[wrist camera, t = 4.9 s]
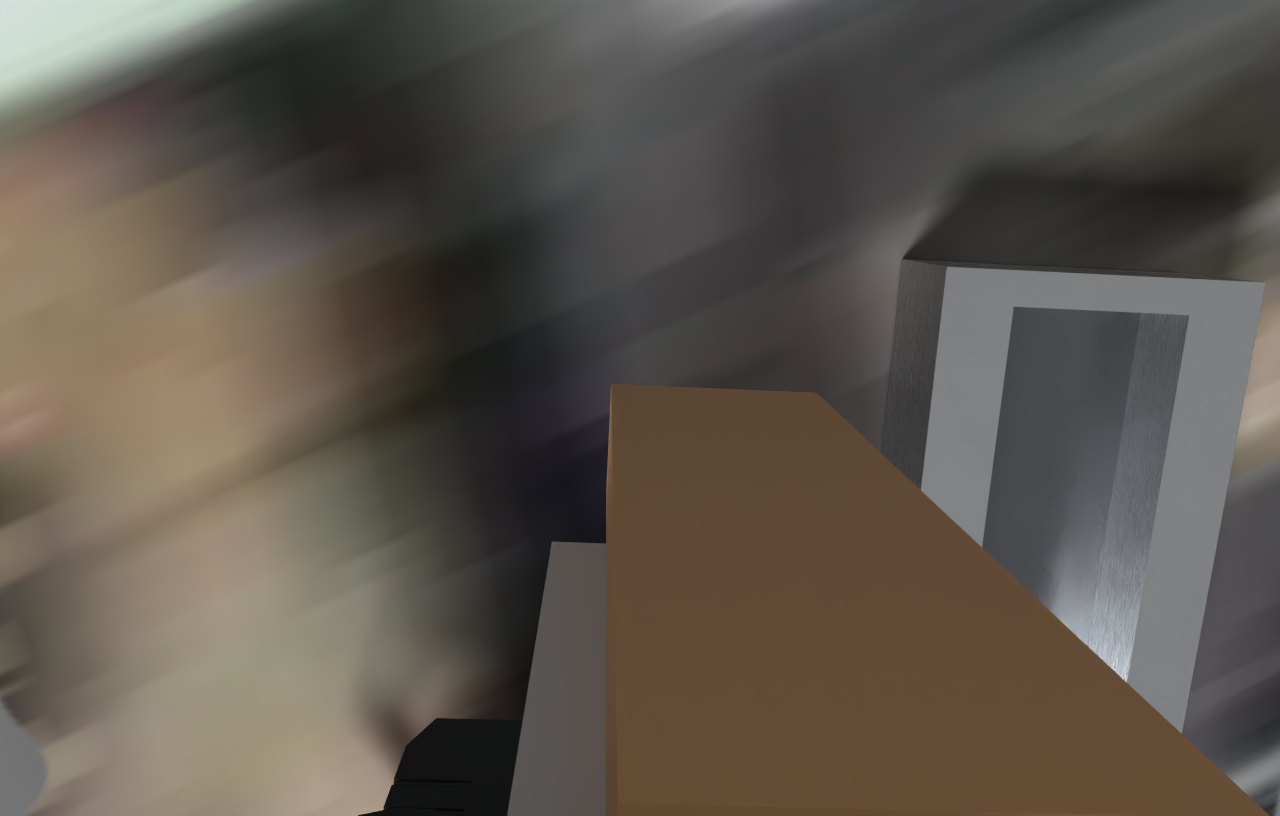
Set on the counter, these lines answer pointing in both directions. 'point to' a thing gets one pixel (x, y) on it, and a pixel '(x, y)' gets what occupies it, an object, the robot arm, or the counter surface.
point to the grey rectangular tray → (1080, 439)
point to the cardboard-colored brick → (843, 640)
